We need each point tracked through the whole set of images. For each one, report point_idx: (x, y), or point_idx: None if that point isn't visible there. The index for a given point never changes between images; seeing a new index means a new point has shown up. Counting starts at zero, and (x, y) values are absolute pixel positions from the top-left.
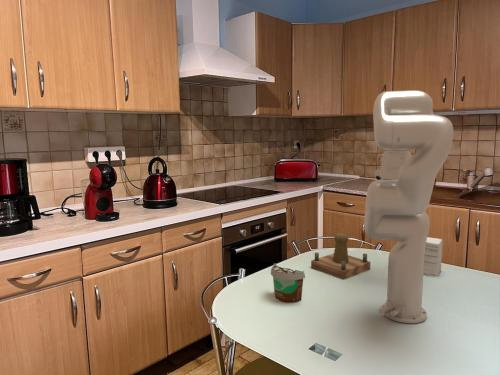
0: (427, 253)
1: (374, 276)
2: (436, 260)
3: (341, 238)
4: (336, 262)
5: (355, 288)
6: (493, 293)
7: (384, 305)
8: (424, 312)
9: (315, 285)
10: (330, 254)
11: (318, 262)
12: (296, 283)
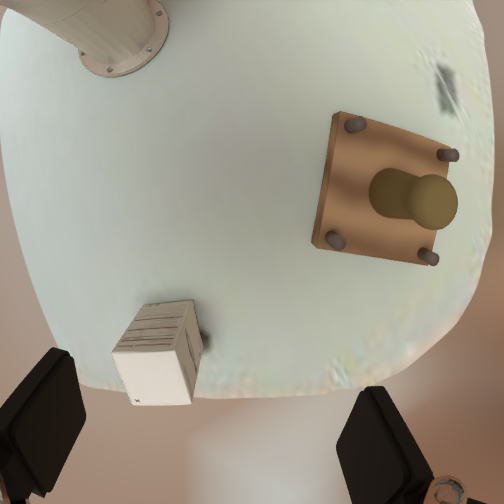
0: (152, 331)
1: (275, 194)
2: (132, 325)
3: (426, 178)
4: (393, 168)
5: (275, 77)
6: (33, 279)
7: (160, 19)
8: (83, 56)
9: (364, 41)
10: (435, 231)
11: (430, 142)
12: None
